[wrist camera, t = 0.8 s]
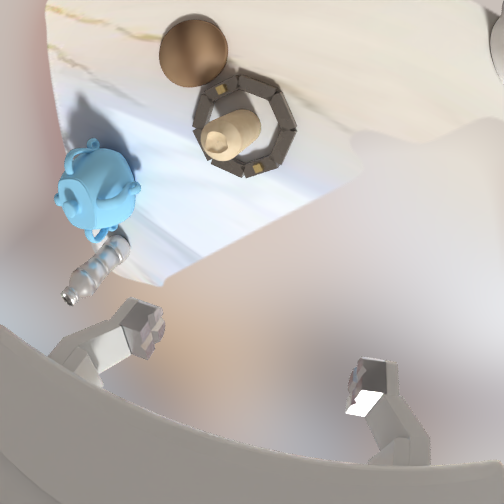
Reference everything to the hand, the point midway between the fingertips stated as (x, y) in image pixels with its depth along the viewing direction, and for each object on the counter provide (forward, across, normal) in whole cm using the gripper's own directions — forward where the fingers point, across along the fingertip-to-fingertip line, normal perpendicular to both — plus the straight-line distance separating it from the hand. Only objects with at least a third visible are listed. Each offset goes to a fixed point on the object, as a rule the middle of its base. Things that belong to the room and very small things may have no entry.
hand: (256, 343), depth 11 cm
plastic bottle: (+39, +40, +28) cm, 63 cm away
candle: (+36, +11, -1) cm, 38 cm away
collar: (+36, +11, -1) cm, 38 cm away
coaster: (+36, +20, -12) cm, 43 cm away
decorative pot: (+38, +38, +11) cm, 55 cm away
